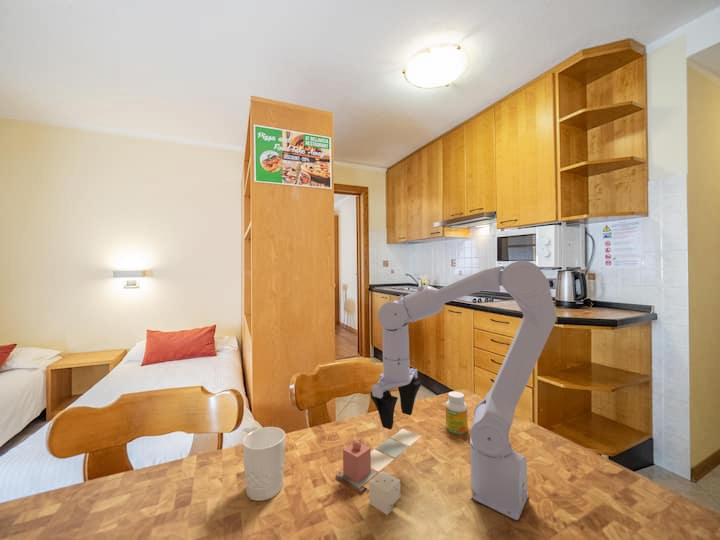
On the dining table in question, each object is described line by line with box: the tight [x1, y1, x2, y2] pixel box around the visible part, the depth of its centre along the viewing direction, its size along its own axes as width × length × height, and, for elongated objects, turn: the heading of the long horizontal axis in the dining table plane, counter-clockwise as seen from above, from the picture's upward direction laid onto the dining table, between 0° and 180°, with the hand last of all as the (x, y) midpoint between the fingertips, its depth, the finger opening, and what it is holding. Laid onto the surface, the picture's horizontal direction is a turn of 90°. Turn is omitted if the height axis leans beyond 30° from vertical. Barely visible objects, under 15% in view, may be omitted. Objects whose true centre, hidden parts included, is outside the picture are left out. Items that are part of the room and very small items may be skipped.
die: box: [368, 470, 401, 516], centre depth 54 cm, size 4×4×4 cm
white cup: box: [242, 426, 286, 502], centre depth 58 cm, size 8×8×10 cm
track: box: [335, 428, 422, 495], centre depth 68 cm, size 7×24×1 cm, turn 139°
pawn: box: [342, 440, 372, 483], centre depth 61 cm, size 4×4×7 cm
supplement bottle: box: [445, 391, 469, 435], centre depth 78 cm, size 5×5×10 cm
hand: (397, 420), depth 64 cm, fingers open, 7 cm apart
